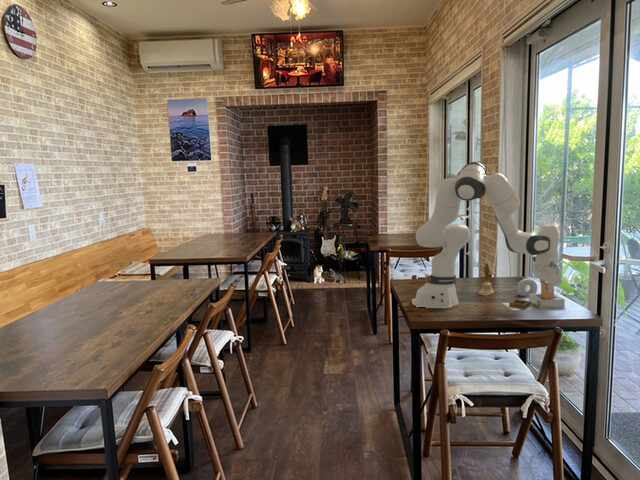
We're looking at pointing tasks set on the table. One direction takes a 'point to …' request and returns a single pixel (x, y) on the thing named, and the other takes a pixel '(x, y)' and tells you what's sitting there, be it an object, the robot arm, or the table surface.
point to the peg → (544, 292)
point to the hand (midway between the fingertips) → (546, 290)
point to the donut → (523, 283)
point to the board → (525, 308)
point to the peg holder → (519, 304)
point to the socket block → (546, 301)
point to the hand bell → (486, 283)
